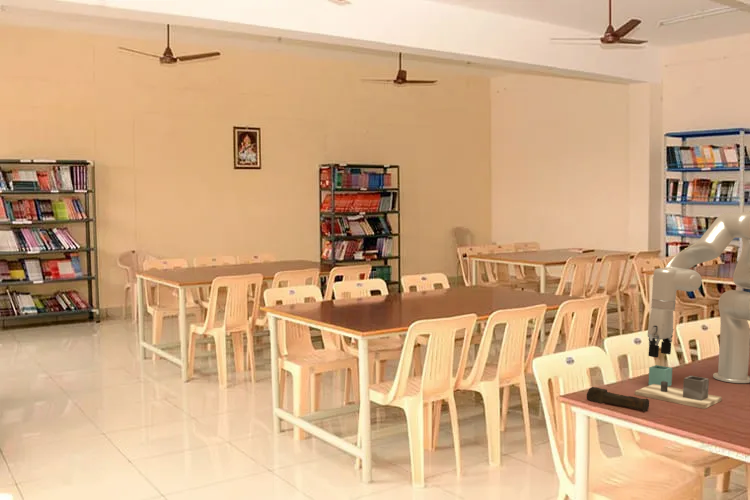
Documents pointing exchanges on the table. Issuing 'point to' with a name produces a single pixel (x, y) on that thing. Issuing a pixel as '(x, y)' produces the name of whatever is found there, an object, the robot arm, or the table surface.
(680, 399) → the seat plate
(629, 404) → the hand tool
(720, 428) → the table surface
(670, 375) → the teal wall cubby
